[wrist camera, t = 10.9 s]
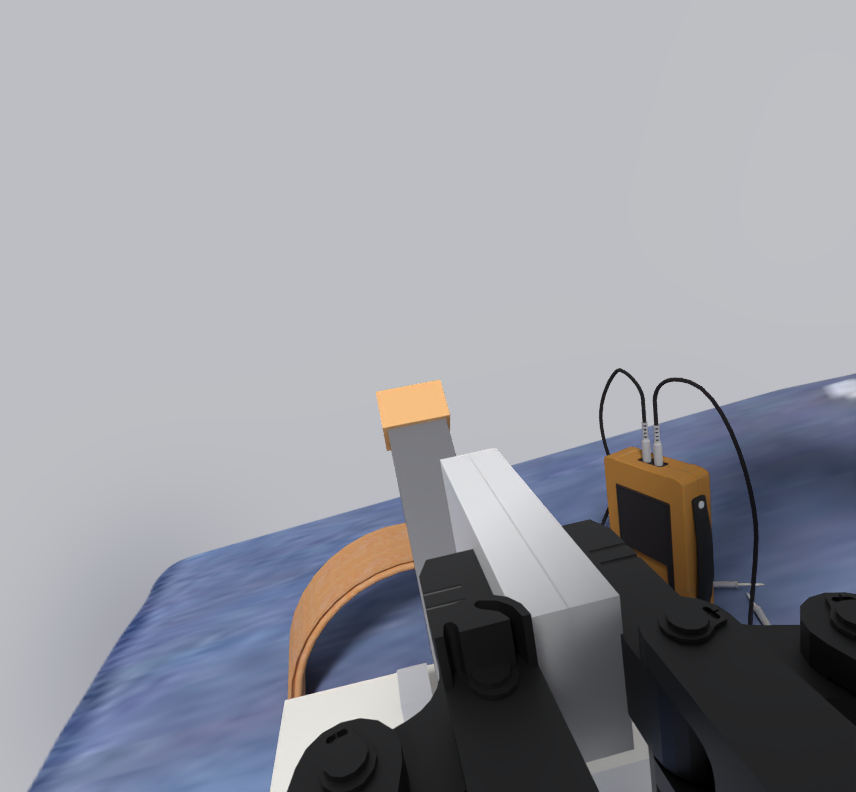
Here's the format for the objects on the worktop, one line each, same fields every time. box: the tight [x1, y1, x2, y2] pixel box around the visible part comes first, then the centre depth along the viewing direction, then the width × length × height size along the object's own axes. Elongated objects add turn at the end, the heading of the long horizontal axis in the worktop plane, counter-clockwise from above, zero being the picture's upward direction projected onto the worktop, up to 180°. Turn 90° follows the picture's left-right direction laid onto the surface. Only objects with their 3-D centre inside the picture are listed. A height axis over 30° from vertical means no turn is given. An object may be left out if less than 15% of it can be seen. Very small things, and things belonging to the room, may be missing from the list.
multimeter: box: [599, 368, 771, 625], centre depth 40 cm, size 15×10×20 cm
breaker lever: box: [376, 380, 457, 683], centre depth 32 cm, size 5×3×20 cm
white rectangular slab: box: [270, 663, 652, 792], centre depth 28 cm, size 22×9×9 cm, turn 98°
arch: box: [288, 523, 415, 699], centre depth 40 cm, size 6×20×10 cm, turn 104°
